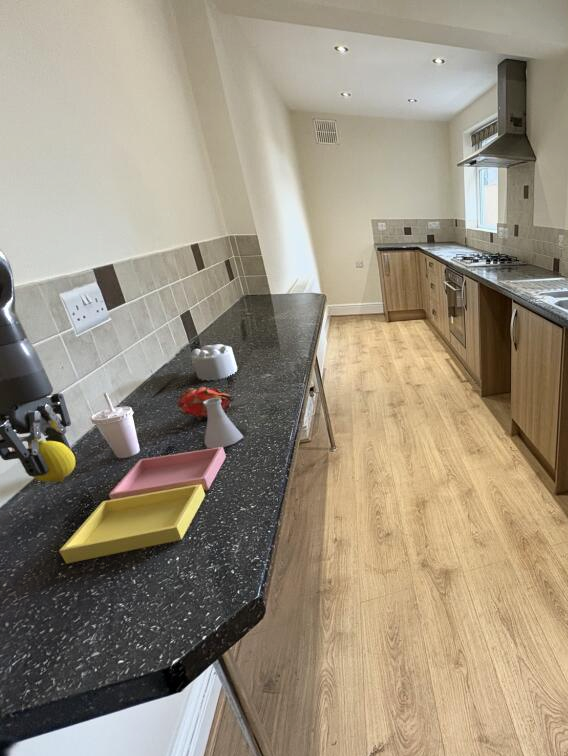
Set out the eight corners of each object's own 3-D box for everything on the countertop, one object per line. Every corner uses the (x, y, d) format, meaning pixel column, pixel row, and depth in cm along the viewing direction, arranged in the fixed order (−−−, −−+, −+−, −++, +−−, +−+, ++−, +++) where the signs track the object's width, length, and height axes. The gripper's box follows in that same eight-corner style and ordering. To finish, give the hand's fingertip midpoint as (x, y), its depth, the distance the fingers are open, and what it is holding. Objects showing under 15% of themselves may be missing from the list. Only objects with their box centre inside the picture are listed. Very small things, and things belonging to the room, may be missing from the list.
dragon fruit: (181, 423, 103) (237, 422, 107) (166, 417, 95) (227, 416, 99) (185, 391, 105) (239, 391, 109) (171, 382, 97) (230, 383, 101)
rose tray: (113, 506, 71) (108, 494, 70) (143, 470, 82) (139, 459, 81) (208, 489, 76) (204, 478, 75) (226, 456, 86) (222, 446, 85)
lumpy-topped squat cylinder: (238, 364, 139) (231, 340, 135) (234, 377, 128) (226, 351, 125) (201, 369, 134) (193, 344, 131) (194, 383, 124) (185, 356, 120)
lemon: (61, 471, 73) (42, 432, 70) (91, 472, 73) (74, 433, 70) (26, 491, 68) (4, 449, 65) (58, 492, 68) (38, 450, 65)
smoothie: (153, 443, 91) (130, 385, 86) (139, 458, 85) (114, 397, 80) (118, 448, 89) (92, 389, 84) (101, 464, 84) (72, 402, 78)
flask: (197, 445, 90) (183, 404, 87) (230, 430, 96) (218, 391, 93) (218, 452, 87) (204, 410, 84) (250, 437, 94) (239, 397, 90)
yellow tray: (66, 563, 60) (58, 550, 59) (108, 513, 70) (102, 501, 69) (181, 539, 64) (176, 527, 63) (205, 495, 74) (201, 483, 73)
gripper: (8, 358, 68) (50, 446, 74) (-71, 391, 55) (-12, 494, 61) (66, 354, 70) (102, 440, 76) (4, 385, 57) (53, 484, 64)
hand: (51, 464), depth 69 cm, fingers closed on lemon, 5 cm apart
